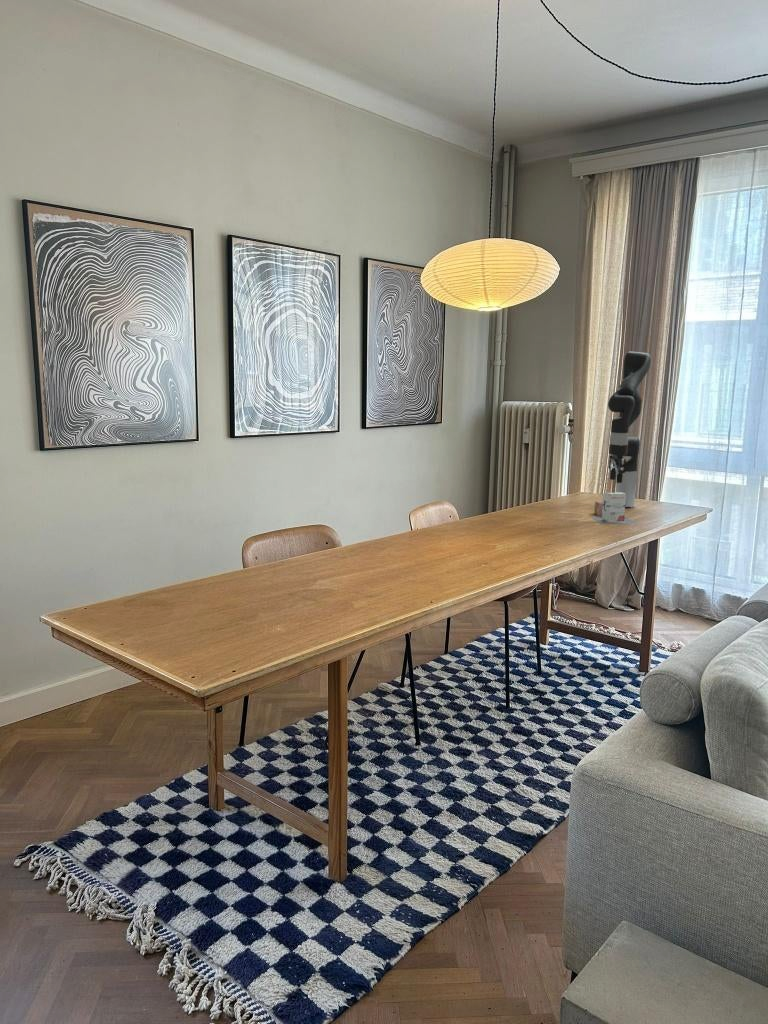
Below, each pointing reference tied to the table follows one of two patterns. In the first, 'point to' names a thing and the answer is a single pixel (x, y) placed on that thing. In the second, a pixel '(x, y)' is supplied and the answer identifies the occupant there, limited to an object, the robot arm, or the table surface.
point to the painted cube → (598, 508)
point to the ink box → (613, 507)
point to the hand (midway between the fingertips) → (615, 481)
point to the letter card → (626, 521)
